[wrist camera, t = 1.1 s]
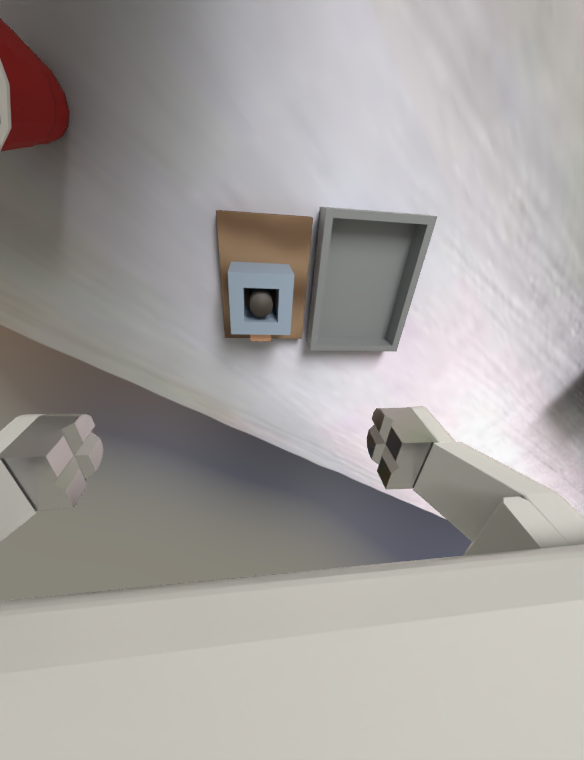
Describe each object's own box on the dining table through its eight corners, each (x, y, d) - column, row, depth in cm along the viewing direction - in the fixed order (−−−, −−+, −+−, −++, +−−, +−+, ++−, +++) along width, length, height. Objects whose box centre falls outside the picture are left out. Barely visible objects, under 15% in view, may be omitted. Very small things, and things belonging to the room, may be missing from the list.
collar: (231, 261, 31) (227, 271, 27) (289, 264, 32) (294, 274, 28) (234, 328, 35) (231, 346, 31) (285, 329, 36) (289, 347, 32)
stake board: (217, 210, 30) (209, 213, 24) (310, 216, 31) (322, 221, 26) (225, 332, 37) (221, 356, 32) (300, 334, 39) (307, 356, 33)
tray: (320, 206, 30) (326, 207, 28) (423, 214, 32) (437, 216, 30) (306, 340, 39) (310, 350, 37) (387, 341, 41) (396, 351, 38)
